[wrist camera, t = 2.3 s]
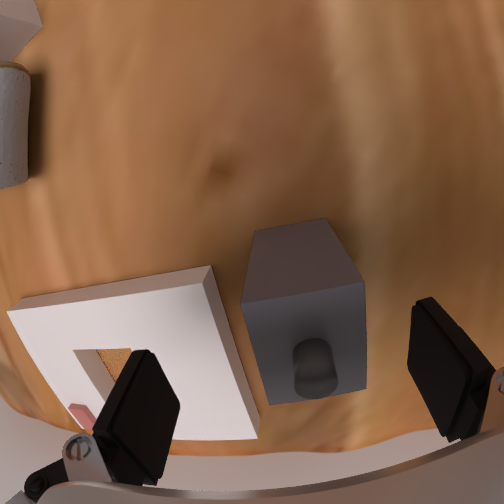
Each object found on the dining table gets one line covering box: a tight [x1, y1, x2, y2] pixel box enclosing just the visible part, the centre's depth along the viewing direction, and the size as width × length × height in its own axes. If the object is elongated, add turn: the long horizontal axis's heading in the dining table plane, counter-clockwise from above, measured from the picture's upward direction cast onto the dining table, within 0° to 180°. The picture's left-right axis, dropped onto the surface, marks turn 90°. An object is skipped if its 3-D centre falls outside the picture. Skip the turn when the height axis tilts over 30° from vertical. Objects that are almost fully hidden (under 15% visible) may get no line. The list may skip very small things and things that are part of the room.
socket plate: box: [7, 265, 259, 440], centre depth 20 cm, size 18×14×3 cm
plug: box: [240, 218, 367, 405], centre depth 13 cm, size 4×5×10 cm
